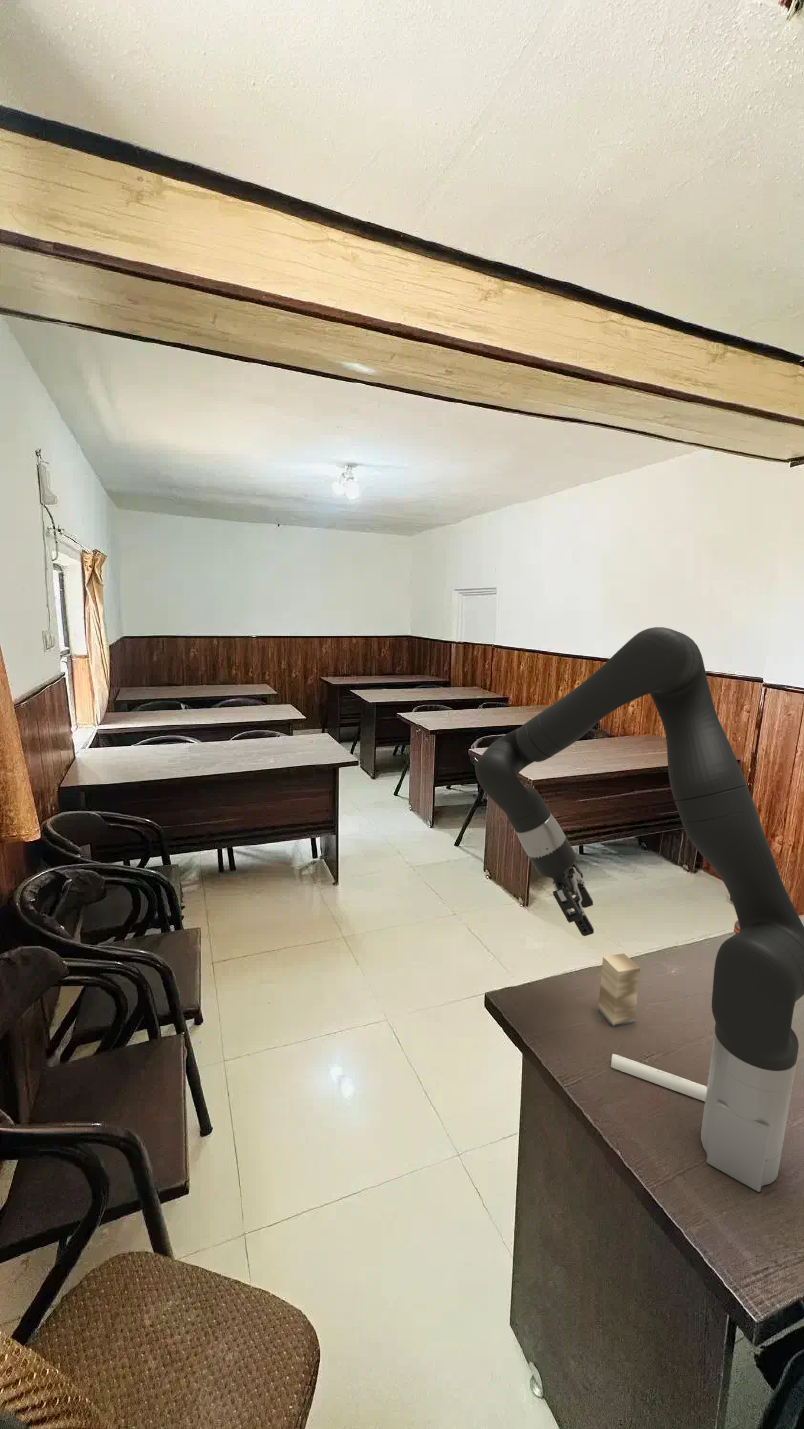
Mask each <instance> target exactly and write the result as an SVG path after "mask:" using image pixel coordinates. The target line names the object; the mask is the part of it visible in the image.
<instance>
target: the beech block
mask: <svg viewBox="0 0 804 1429" xmlns="http://www.w3.org/2000/svg"><path fill="white" fill-rule="evenodd" d="M640 974H641V967H639V965H637V964H636V963H635V962H634V961H633V960H632V959H631V958H630V957H629V956H628V955H626V954H625V953H618V954H611V955H605V956H603V957H602V965H601V975H600V987H599V996H598V1011H599V1012H600V1014H602V1016H603V1017H604V1018H605V1020H607V1022H608V1023H609V1025H611V1026H612V1027H613V1028H614V1027H618V1026H624V1025H629V1024H630V1025H631V1024H634V1023H635V1022H636V1015H637V1014H636V1013H637V1001H638V993H639V983H640V981H639V980H640Z"/></svg>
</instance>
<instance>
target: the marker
mask: <svg viewBox="0 0 804 1429" xmlns="http://www.w3.org/2000/svg"><path fill="white" fill-rule="evenodd" d="M610 1062H611V1064H610V1068H613V1069H614V1070H618V1071H619V1072H623V1073H626V1074H628V1075H630V1076H634V1077H637V1078H638V1079H642V1080H644V1081H647V1082H650V1083H653V1084H656V1085H658V1086H660V1087H661V1086H662V1087H664V1088H666V1089H669V1090H673V1091H675V1092H678V1093H680V1094H683V1095H685V1096H688V1097H691V1098H694V1099H697V1100H699V1101H702V1102H704V1103H705V1099H706V1091H707V1085H703V1084H701V1083H698V1082H694V1081H692V1080H689V1079H687V1078H684V1077H681V1076H679V1075H676V1074H675V1075H674V1074H673V1073H670V1072H666V1071H664V1070H660V1069H659V1068H656V1067H653V1066H649V1065H647V1064H644V1063H642V1062H639V1061H636V1060H632V1059H630V1058H627V1057H624V1056H622V1055H619V1054H616V1053H612V1055H611V1061H610Z"/></svg>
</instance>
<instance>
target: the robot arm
mask: <svg viewBox="0 0 804 1429" xmlns="http://www.w3.org/2000/svg"><path fill="white" fill-rule="evenodd" d="M704 663H705V662H704V659H703V656H702V652H701V650H700V648H699V646H698V644H697V643H696V642H695V641H694V640H693V639H692V638H691V637H690V636H688V635H686V634H684V633H683V632H680V631H677V630H675V629H672V628H669V627H668V628H667V627H663V626H662V627H661V626H660V627H659V626H654V627H649V628H646V629H643V630H641V631H640V632H637V634H635V635H633V637H631V638H630V639H629V640H628V641H627V642H625V644H624V645H622V646H621V647H620V648H619V649H618V650H617V651H616V652H615V653H614V654H613V655H612V656H611V657H610V658H609V659H608V660H607V661H606V662H605V663H604V664H603V665H602V666H601V667H600V668H598V669H597V670H596V671H595V672H594V673H593V674H591V675H590V676H589V677H588V678H586V680H584V681H583V682H582V683H580V684H579V685H578V686H576V687H575V688H574V689H573V690H571V691H570V692H569V693H568V694H566V695H565V696H563V697H561V699H559V700H557V701H556V702H554V703H553V704H551V705H550V706H548V707H547V708H546V709H544V710H542V711H541V712H539V713H538V714H536V715H535V716H534V717H532V718H531V719H529V720H528V721H526V722H525V723H523V724H522V725H521V726H520V727H519V728H515V729H514V730H512V731H510V732H508V733H506V734H504V735H503V736H501V737H499V738H498V739H496V740H495V741H493V742H492V743H491V744H490V745H489V746H488V747H487V748H486V750H485V751H484V752H483V753H482V754H481V755H480V756H479V758H478V759H477V760H476V763H475V767H474V770H475V771H474V772H475V775H476V779H477V782H478V783H479V786H480V788H481V789H482V790H483V791H484V792H485V793H486V795H487V796H488V797H489V798H490V799H491V800H492V801H493V802H494V803H495V805H497V806H498V807H499V808H500V809H501V810H502V812H504V813H505V815H506V818H507V820H508V821H509V822H510V824H511V826H512V828H513V829H514V831H515V833H516V836H517V837H518V840H519V842H520V844H521V846H522V848H523V851H524V852H525V853H526V855H527V857H528V859H529V861H530V862H531V863H532V865H533V868H534V869H535V871H536V872H537V873H538V875H539V876H540V877H544V878H551V879H552V884H553V887H554V890H553V891H552V895H553V897H554V899H555V901H556V902H557V905H558V906H559V907H560V909H561V911H562V913H563V915H564V917H565V919H566V921H567V922H568V923H570V924H571V923H574V924H575V926H576V928H577V929H578V931H579V933H580V934H581V936H583V937H586V936H590V935H593V934H594V933H595V929H594V927H593V925H592V923H591V921H590V920H589V918H588V916H587V915H586V912H585V910H584V909H586V908H588V907H592V906H594V901H593V899H592V897H591V895H590V893H589V892H588V890H587V888H586V886H585V884H586V883H585V880H583V878H584V873H583V872H582V871H581V869H580V867H578V866H579V865H577V863H576V860H577V854H576V852H575V850H574V849H573V847H572V845H571V843H570V841H569V839H568V837H567V835H566V834H565V833H564V831H563V830H562V827H561V825H560V824H559V823H558V821H557V820H556V818H555V817H554V816H553V814H552V813H551V810H550V809H549V808H548V806H547V804H546V803H545V801H544V798H542V797H543V796H542V795H541V794H540V792H539V791H538V790H537V789H536V788H534V787H532V786H525V785H524V784H523V783H522V782H521V780H520V778H519V776H518V775H519V774H520V772H521V771H522V770H523V769H525V768H526V767H528V766H529V765H531V764H533V763H534V762H535V763H541V762H544V761H546V760H548V759H550V758H551V757H554V756H556V755H557V754H558V753H560V752H562V751H563V750H565V749H566V748H568V747H571V745H573V744H574V743H576V742H577V741H578V740H580V739H581V738H582V737H584V736H585V735H586V734H587V733H588V732H590V731H591V730H592V728H594V727H595V726H596V725H597V724H598V723H599V722H600V721H601V720H603V719H604V718H605V717H607V716H608V715H609V714H611V713H612V712H614V711H615V710H617V709H619V708H620V707H622V706H624V705H626V704H628V703H631V702H632V701H635V700H637V699H640V698H642V697H643V696H646V695H650V697H651V699H652V701H653V703H654V706H655V707H656V710H657V713H658V714H659V717H660V720H661V724H662V726H663V731H664V735H665V740H666V741H665V742H666V752H667V753H666V755H667V757H666V758H667V769H668V771H667V772H668V779H669V785H670V789H671V793H672V796H673V801H674V804H675V806H676V809H677V812H678V814H679V817H680V820H681V825H682V826H683V829H684V831H685V834H686V835H687V837H688V839H689V841H690V842H691V844H692V845H693V847H695V849H696V850H697V851H698V852H699V853H700V855H701V856H702V857H703V858H704V860H706V861H707V863H708V864H709V866H710V867H711V868H712V869H713V870H714V871H715V872H716V873H717V875H718V876H719V877H720V879H721V880H722V882H723V884H724V885H725V888H726V889H727V891H728V894H729V896H730V899H731V902H732V905H733V908H734V910H735V911H734V912H735V914H736V917H737V920H738V921H739V926H740V932H738V933H737V934H735V935H732V936H730V937H729V938H727V939H725V940H724V941H723V942H722V943H721V945H720V946H719V948H718V950H717V953H716V957H715V962H714V968H713V969H714V970H713V979H712V980H713V981H712V993H711V996H712V997H711V1012H712V1016H713V1019H714V1022H715V1023H714V1024H715V1025H714V1034H713V1040H712V1041H713V1042H712V1049H711V1055H710V1064H709V1070H708V1071H709V1072H708V1078H707V1084H706V1086H707V1091H706V1099H705V1102H704V1105H703V1106H704V1108H703V1115H702V1123H701V1132H700V1141H701V1145H702V1147H703V1150H704V1152H705V1153H706V1163H707V1164H708V1165H710V1166H712V1167H714V1168H715V1169H717V1170H719V1171H721V1172H723V1173H724V1174H726V1175H727V1176H729V1177H731V1178H733V1179H735V1180H736V1181H737V1182H740V1183H742V1184H743V1185H745V1186H747V1187H749V1188H750V1189H752V1190H753V1191H756V1192H758V1193H759V1192H761V1190H762V1187H764V1186H766V1185H767V1186H768V1185H770V1184H772V1183H774V1182H775V1180H776V1179H777V1178H778V1175H779V1170H780V1164H781V1158H782V1152H783V1145H784V1139H785V1133H786V1126H787V1122H788V1115H789V1108H790V1103H791V1096H792V1089H793V1085H794V1078H795V1073H796V1069H797V1068H796V1066H797V1060H798V1054H799V1046H800V1045H799V1039H798V1037H797V1034H796V1033H795V1031H794V1029H793V1028H792V1023H793V1016H794V1009H795V1005H796V1002H797V1001H799V1000H800V999H801V998H802V997H803V996H804V924H803V922H802V920H801V918H800V915H799V914H798V911H797V909H796V908H795V906H794V903H793V902H792V900H791V897H790V896H789V893H788V892H787V890H786V887H785V885H784V883H783V882H784V881H782V878H781V875H780V873H779V870H778V866H777V864H776V861H775V857H774V855H773V853H772V851H771V847H770V846H769V842H768V840H767V838H766V835H765V832H764V830H763V826H762V823H761V820H760V816H759V814H758V812H757V808H756V804H755V801H754V800H753V797H752V795H751V792H750V789H749V786H748V784H747V781H746V779H745V776H744V773H743V771H742V770H741V767H740V764H739V762H738V760H737V757H736V755H735V752H734V751H733V748H732V746H731V744H730V740H729V739H728V737H727V735H726V732H725V730H724V728H723V726H722V724H721V722H720V719H719V716H718V714H717V711H716V707H715V705H714V701H713V697H712V693H711V689H710V686H709V682H708V678H707V673H706V668H705V664H704ZM573 896H574V897H573ZM583 908H584V909H583ZM572 909H573V910H572Z"/></svg>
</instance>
